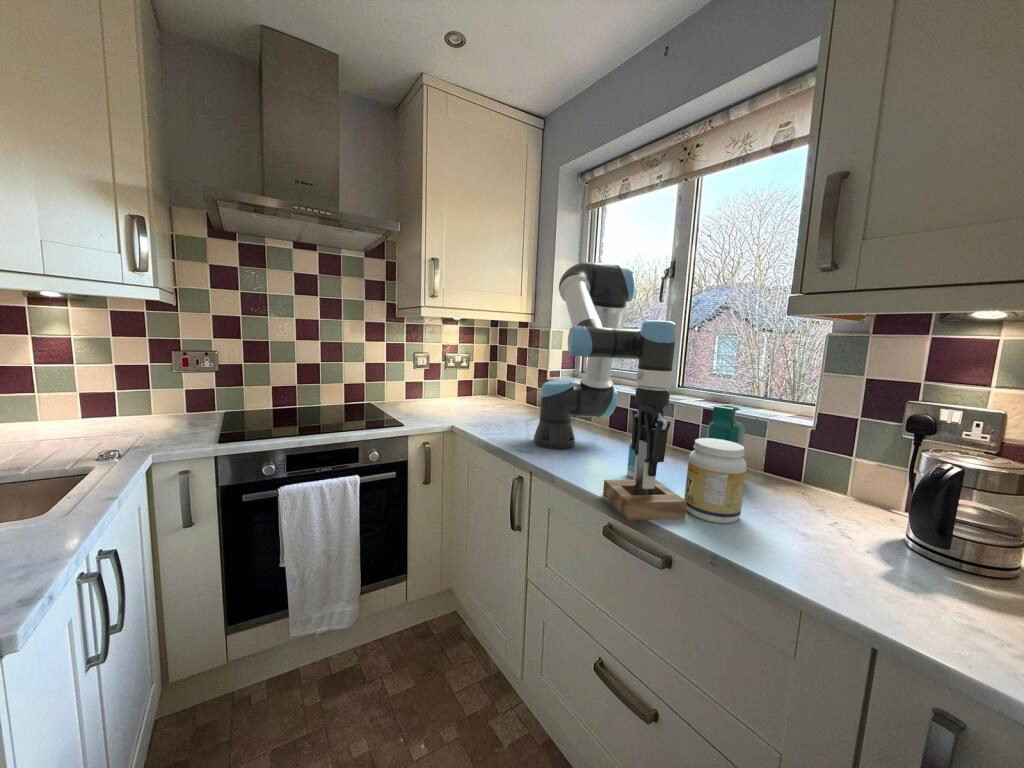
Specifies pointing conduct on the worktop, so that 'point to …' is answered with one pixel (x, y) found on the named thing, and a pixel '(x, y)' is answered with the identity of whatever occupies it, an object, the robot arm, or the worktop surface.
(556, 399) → the robot arm
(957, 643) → the worktop surface
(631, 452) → the pill bottle
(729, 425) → the green bottle
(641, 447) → the pin
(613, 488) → the slot block
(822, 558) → the worktop surface
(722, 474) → the supplement tub
